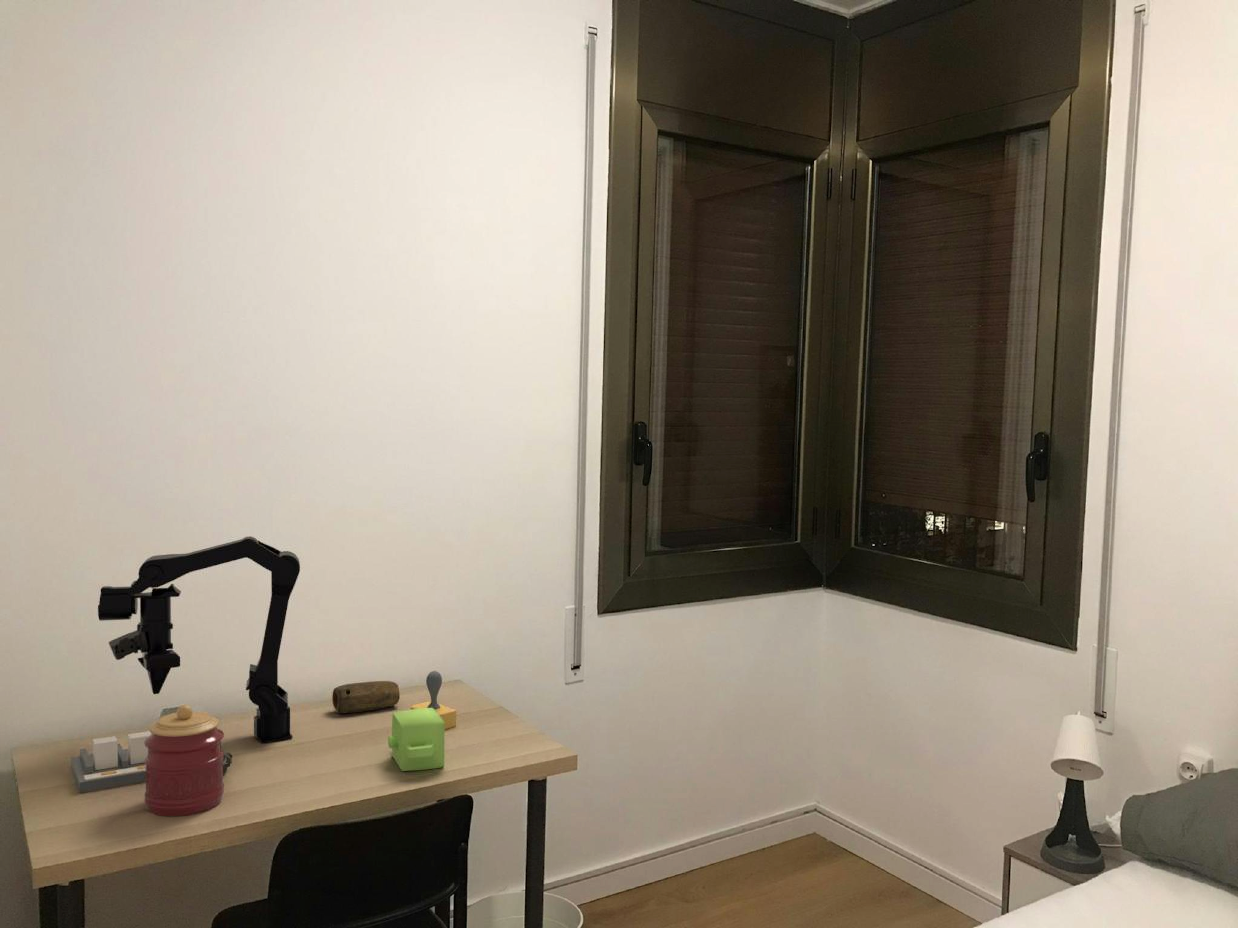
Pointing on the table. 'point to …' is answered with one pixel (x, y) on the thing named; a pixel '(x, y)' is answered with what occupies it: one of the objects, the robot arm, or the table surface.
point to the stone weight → (365, 696)
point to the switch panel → (106, 772)
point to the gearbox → (417, 739)
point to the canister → (184, 763)
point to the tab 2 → (137, 747)
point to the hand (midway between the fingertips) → (155, 693)
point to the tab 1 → (105, 753)
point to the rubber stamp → (434, 686)
